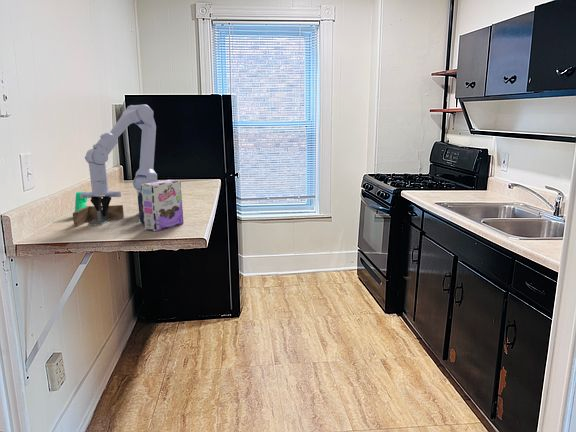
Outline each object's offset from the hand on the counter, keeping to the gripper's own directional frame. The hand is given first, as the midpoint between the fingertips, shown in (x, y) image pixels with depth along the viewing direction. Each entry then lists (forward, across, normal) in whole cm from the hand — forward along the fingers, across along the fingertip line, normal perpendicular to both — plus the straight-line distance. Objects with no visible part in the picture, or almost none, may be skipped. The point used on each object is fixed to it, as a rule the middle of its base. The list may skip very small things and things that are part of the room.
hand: (102, 216), depth 171 cm
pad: (+2, -2, 0) cm, 3 cm away
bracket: (+2, -2, 0) cm, 3 cm away
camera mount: (+3, -11, +14) cm, 18 cm away
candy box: (+3, +26, -12) cm, 28 cm away
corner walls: (+2, -2, 0) cm, 3 cm away
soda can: (+3, +18, -4) cm, 19 cm away
